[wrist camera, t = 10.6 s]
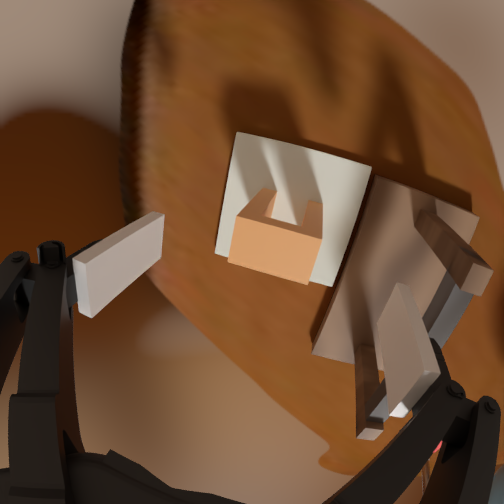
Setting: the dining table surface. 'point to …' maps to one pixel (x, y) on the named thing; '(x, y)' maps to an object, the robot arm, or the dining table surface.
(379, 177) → the stand
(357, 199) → the rubber mat
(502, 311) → the dining table surface
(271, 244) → the c-link
